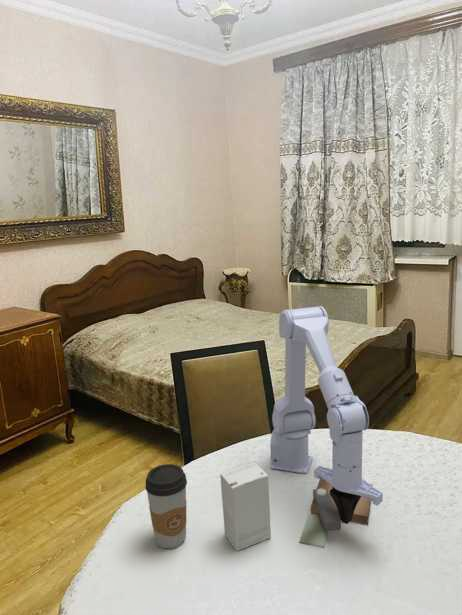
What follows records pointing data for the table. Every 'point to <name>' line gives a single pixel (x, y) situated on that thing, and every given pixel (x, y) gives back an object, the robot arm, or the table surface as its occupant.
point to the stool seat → (314, 525)
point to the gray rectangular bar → (327, 510)
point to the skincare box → (246, 505)
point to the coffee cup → (167, 504)
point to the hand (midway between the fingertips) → (346, 520)
